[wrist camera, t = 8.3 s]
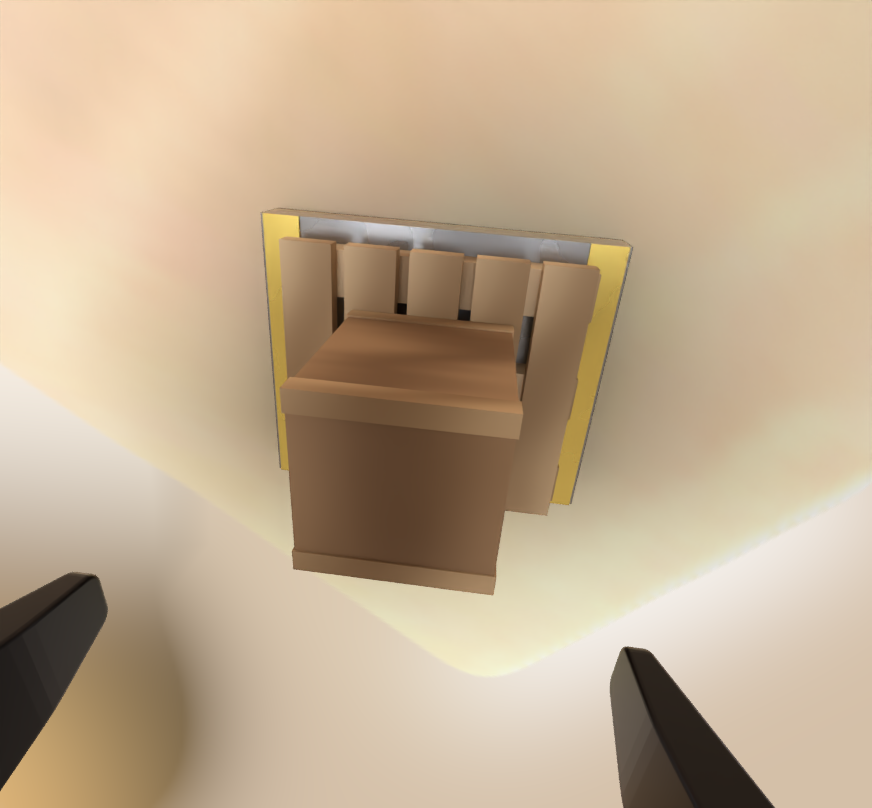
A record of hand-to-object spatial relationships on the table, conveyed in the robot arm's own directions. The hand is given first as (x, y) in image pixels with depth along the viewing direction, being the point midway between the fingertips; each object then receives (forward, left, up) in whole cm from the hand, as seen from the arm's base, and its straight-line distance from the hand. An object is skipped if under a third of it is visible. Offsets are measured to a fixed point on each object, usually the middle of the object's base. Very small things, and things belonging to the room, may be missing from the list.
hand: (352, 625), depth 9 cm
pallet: (0, 0, -11) cm, 11 cm away
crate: (0, 0, -10) cm, 10 cm away
